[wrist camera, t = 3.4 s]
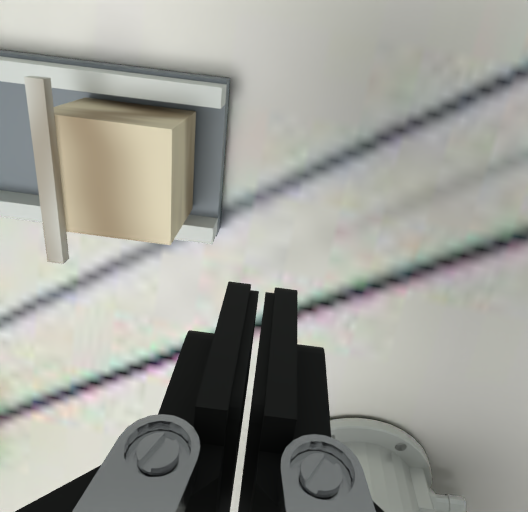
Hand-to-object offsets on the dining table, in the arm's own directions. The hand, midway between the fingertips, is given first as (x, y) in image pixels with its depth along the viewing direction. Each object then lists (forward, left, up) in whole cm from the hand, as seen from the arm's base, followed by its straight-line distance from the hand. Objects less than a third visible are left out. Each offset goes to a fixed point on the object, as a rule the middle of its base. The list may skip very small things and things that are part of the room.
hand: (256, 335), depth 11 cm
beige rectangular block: (+8, 0, -15) cm, 17 cm away
